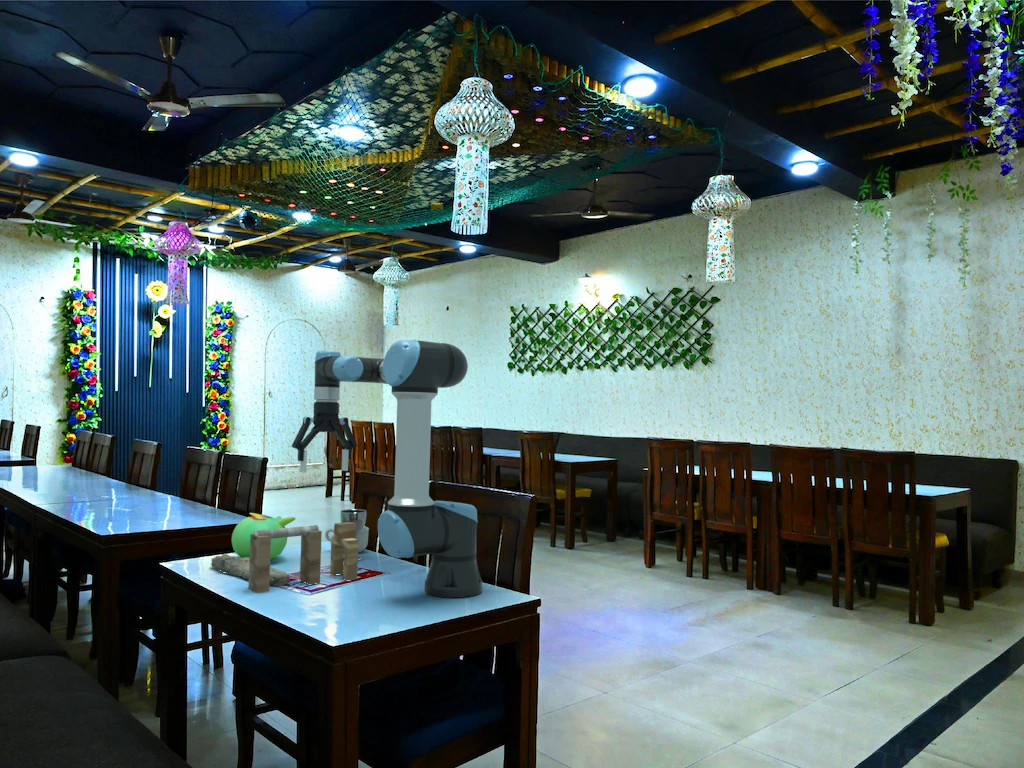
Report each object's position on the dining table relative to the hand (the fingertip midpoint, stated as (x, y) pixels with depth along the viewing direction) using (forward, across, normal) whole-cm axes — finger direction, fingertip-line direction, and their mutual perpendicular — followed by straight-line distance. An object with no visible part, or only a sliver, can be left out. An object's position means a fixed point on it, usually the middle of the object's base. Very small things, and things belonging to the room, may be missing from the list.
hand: (324, 471), depth 218 cm
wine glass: (+28, -11, -2) cm, 30 cm away
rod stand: (+28, +20, +19) cm, 39 cm away
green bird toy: (+28, +13, -15) cm, 34 cm away
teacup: (+28, -15, -13) cm, 35 cm away
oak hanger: (+28, +3, +19) cm, 34 cm away
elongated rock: (+28, +22, +1) cm, 36 cm away
